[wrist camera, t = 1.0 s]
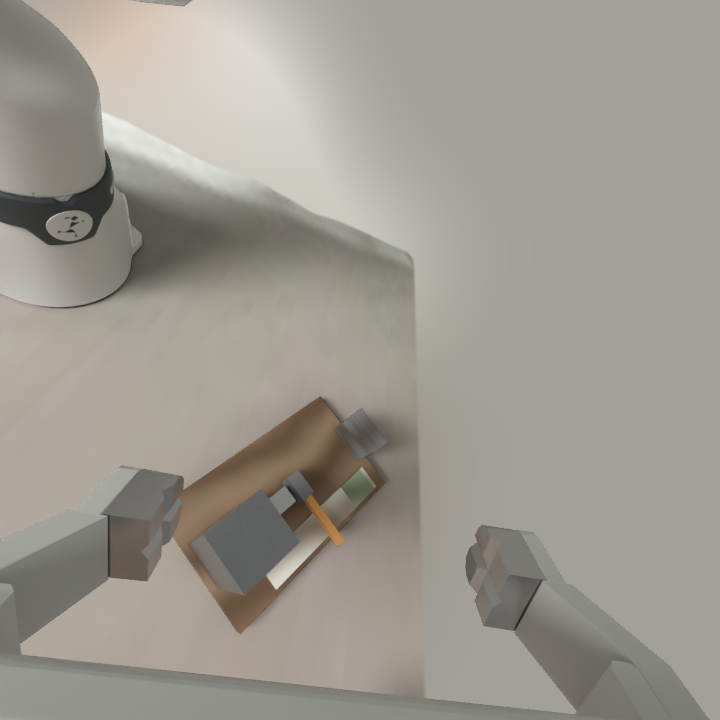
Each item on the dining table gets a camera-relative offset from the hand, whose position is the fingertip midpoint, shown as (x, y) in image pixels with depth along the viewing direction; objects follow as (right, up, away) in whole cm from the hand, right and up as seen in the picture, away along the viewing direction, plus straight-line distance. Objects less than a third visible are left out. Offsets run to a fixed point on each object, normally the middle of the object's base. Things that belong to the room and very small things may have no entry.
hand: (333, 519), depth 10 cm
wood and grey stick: (-5, -13, +32) cm, 34 cm away
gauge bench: (-8, -11, +33) cm, 36 cm away
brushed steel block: (-11, -13, +28) cm, 33 cm away
